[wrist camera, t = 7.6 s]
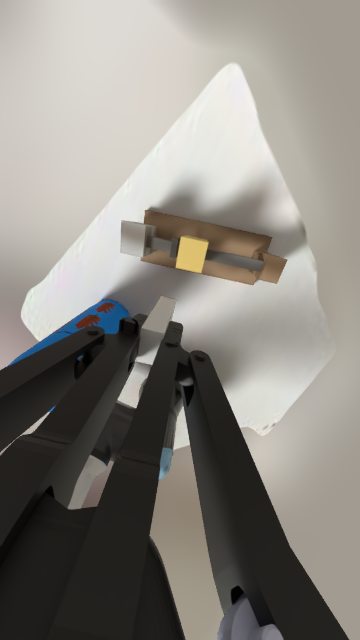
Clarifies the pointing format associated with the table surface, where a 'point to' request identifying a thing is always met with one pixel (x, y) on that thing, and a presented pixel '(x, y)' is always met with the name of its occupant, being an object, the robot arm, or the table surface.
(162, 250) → the rod stand
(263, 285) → the table surface
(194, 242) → the sleeve
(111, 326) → the thermos
